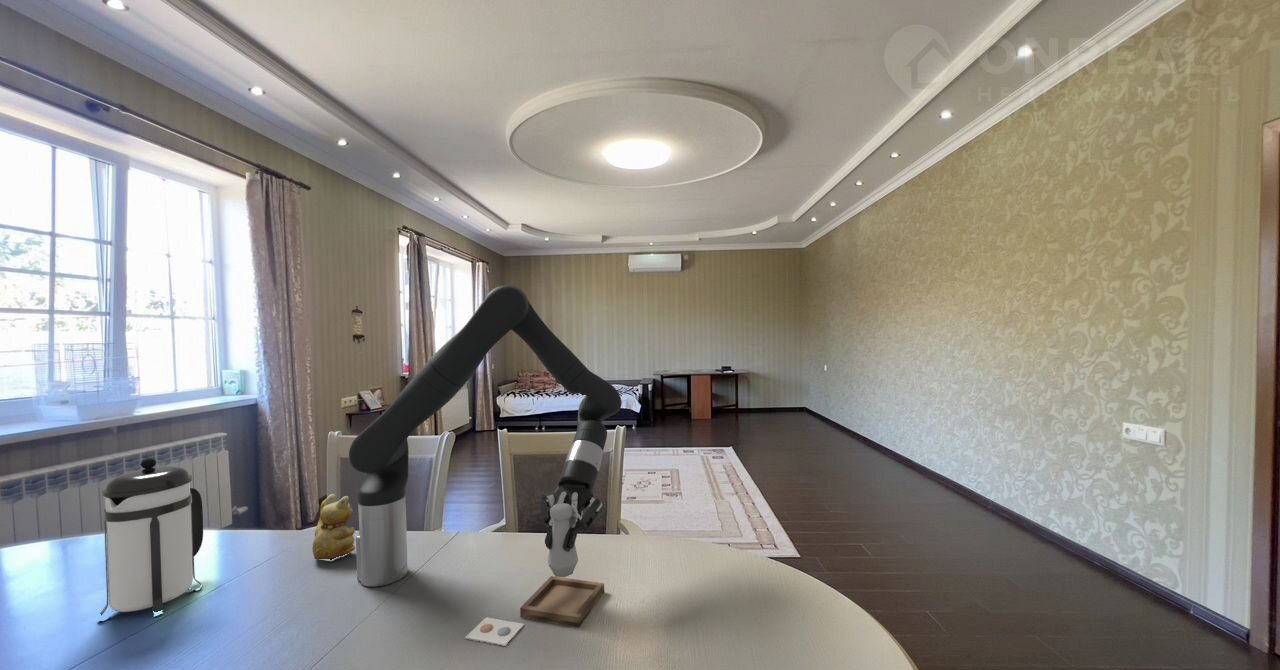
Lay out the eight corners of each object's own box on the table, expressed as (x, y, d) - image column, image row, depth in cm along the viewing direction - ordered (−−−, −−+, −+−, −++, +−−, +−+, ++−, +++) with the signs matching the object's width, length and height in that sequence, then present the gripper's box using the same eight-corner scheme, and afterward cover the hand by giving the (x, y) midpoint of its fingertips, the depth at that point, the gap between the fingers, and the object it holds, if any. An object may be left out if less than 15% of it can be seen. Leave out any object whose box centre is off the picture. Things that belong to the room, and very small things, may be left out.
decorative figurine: (363, 552, 119) (361, 491, 119) (334, 568, 111) (332, 503, 111) (330, 549, 121) (328, 490, 121) (301, 564, 113) (298, 501, 113)
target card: (465, 638, 83) (465, 636, 83) (486, 618, 89) (486, 616, 89) (505, 646, 81) (505, 643, 81) (524, 625, 86) (524, 622, 86)
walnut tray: (520, 617, 89) (520, 607, 89) (551, 584, 100) (550, 576, 100) (579, 627, 85) (579, 617, 85) (604, 592, 97) (604, 583, 97)
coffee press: (213, 599, 99) (208, 454, 98) (96, 637, 87) (90, 472, 87) (204, 572, 110) (200, 443, 110) (100, 602, 99) (95, 457, 99)
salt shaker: (572, 580, 89) (569, 511, 89) (543, 578, 91) (541, 510, 91) (582, 565, 95) (579, 500, 95) (555, 563, 96) (552, 499, 96)
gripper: (546, 456, 102) (517, 537, 90) (607, 459, 98) (585, 545, 86) (558, 473, 107) (532, 552, 96) (617, 477, 103) (597, 560, 91)
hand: (557, 548), depth 91 cm, fingers closed on salt shaker, 3 cm apart
